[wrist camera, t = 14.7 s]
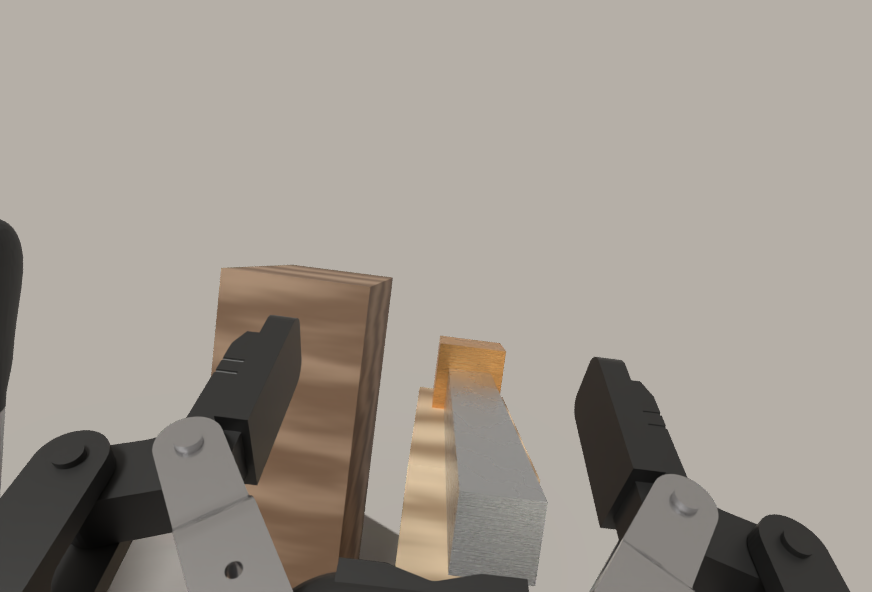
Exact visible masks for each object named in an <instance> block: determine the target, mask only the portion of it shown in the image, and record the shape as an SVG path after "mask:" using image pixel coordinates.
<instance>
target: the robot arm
mask: <svg viewBox="0 0 872 592" xmlns="http://www.w3.org/2000/svg"><path fill="white" fill-rule="evenodd" d="M22 275H23V254H22V248H21V243H20V240H19V238H18V235H17V234H16V232H15V231H14V229H13V228H12V227H11V226H10V225H9V224H8V223H6V222H5V221H2V220H0V488H1V472H2V471H1V470H2V455H3V435H4V419H5V406H6V391H7V386H8V381H9V376H10V372H11V366H12V359H13V349H14V337H15V329H16V321H17V314H18V307H19V300H20V293H21V285H22ZM301 364H302V357H301V336H300V321H299V319H298V318H292V317H285V316H277V315H269V317H268V318H267V320H266V321H265V323H264V325H263V327H262V329H261V331H260V332H251V331H247V332H245V333H244V334H243V335H241V336H240V337H239V338H237V339H236V340H235V341H233V342H232V343H231V345H230V346H229V348H228V350H227V351H226V353H225V355H224V356H223V360H221V361H220V363H219V365H218V366H217V368H216V372H214V373H213V375H212V376H211V378H210V380H209V381H208V383H207V384H206V386H205V388H204V390H203V391H202V393H201V394H200V396H199V398H198V399H197V401H196V403H195V404H194V406H193V408H192V409H191V411H190V413H189V414H188V416H187V417H186V418H184V419H181V420H178V421H176V422H174V423H172V424H170V425H169V426H167V427H166V428H165V429H164V430H162V431H161V432H160V434H159V435H158V436H157V437H156V438H153V439H149V440H143V441H136V442H130V443H122V444H116V445H110V443H109V441H108V439H107V438H106V437H105V436H104V435H103V434H101V433H99V432H95V431H90V430H83V431H75V432H70V433H67V434H64V435H62V436H60V437H57V438H55V439H53V440H51V441H50V442H48V443H47V444H46V445H44V446H43V447H41V448H40V449H39V450H38V451H37V452H36V453H35V454H34V456H33V457H32V458H31V460H30V461H29V462H28V463H27V465H26V466H25V467H24V468H23V470H22V471H21V472H20V474H19V475H18V476H17V478H16V479H15V480H14V481H13V483H12V484H11V485H10V486H9V488H8V489H7V490H6V492H5V493H4V494H3V495H2V497H1V498H0V592H107V590H108V588H109V586H110V584H111V582H112V580H113V578H114V576H115V574H116V572H117V570H118V568H119V566H120V564H121V563H122V561H123V559H124V557H125V555H126V553H127V551H128V549H129V547H130V545H131V543H132V541H133V540H136V539H141V538H146V537H151V536H156V535H161V534H166V533H171V532H173V537H174V541H175V545H176V548H177V552H178V556H179V560H180V564H181V567H182V571H183V575H184V579H185V582H186V586H187V590H188V592H529V590H528V579H523V578H515V577H506V576H497V575H489V574H477V575H471V576H464V577H458V578H452V579H446V580H440V581H431V580H428V579H425V578H423V577H420V576H418V575H415V574H413V573H410V572H408V571H405V570H403V569H400V568H398V567H395V566H393V565H390V564H388V563H385V562H376V561H367V560H359V559H350V558H341V557H339V561H338V565H337V570H336V572H331V573H326V574H323V575H319V576H316V577H314V578H311V579H309V580H307V581H304V582H303V583H301V584H299V585H297V586H296V587H294V588H292V587H291V585H290V583H289V580H288V578H287V575H286V573H285V571H284V568H283V566H282V563H281V561H280V558H279V556H278V554H277V551H276V549H275V546H274V544H273V541H272V539H271V537H270V534H269V532H268V529H267V527H266V524H265V522H264V520H263V517H262V515H261V512H260V510H259V508H258V505H257V503H256V501H255V499H254V497H253V496H252V495H249V494H248V491H247V489H246V487H245V484H249V485H258V482H259V480H260V477H261V475H262V472H263V470H264V467H265V465H266V462H267V460H268V457H269V455H270V452H271V449H272V447H273V444H274V442H275V439H276V437H277V434H278V432H279V429H280V427H281V424H282V422H283V419H284V417H285V414H286V411H287V409H288V406H289V404H290V401H291V399H292V396H293V394H294V391H295V389H296V386H297V383H298V380H299V377H300V372H301ZM574 410H575V420H576V424H577V429H578V433H579V437H580V442H581V446H582V451H583V455H584V459H585V463H586V468H587V472H588V477H589V481H590V485H591V490H592V494H593V499H594V503H595V507H596V511H597V516H598V520H599V525H600V527H601V528H608V529H616V530H617V534H618V538H619V541H618V542H617V544H616V546H615V547H614V549H613V551H612V553H611V554H610V556H609V558H608V560H607V562H606V563H605V565H604V567H603V569H602V571H601V572H600V574H599V576H598V577H597V579H596V581H595V583H594V585H593V586H592V588H591V590H590V592H850V591H849V589H848V587H847V585H846V583H845V582H844V580H843V578H842V576H841V574H840V572H839V571H838V569H837V567H836V565H835V563H834V561H833V560H832V558H831V556H830V554H829V552H828V550H827V549H826V547H825V546H824V544H823V543H822V542H821V541H820V539H819V538H818V537H817V536H816V535H815V534H814V533H813V532H812V531H810V530H809V529H808V528H806V527H805V526H804V525H802V524H801V523H799V522H797V521H795V520H793V519H791V518H788V517H786V516H782V515H775V514H774V515H768V516H765V517H764V518H762V520H761V521H760V522H759V523H758V524H755V523H752V522H750V521H747V520H745V519H742V518H740V517H737V516H735V515H732V514H730V513H727V512H725V511H723V510H721V509H719V508H717V507H716V504H715V502H714V501H713V499H712V498H711V496H710V495H709V494H708V492H706V490H704V489H703V488H702V487H701V486H700V485H699V484H697V483H696V482H694V481H692V480H691V479H689V478H687V476H686V473H685V471H684V468H683V466H682V464H681V462H680V459H679V457H678V454H677V452H676V449H675V447H674V444H673V442H672V440H671V437H670V435H669V432H668V430H667V429H665V423H664V420H663V418H662V416H660V411H659V408H658V406H657V404H656V401H655V399H654V397H653V396H652V394H651V393H650V392H649V391H648V390H647V389H646V388H645V386H644V385H643V384H642V383H641V382H640V381H632V380H631V379H630V376H629V373H628V371H627V368H626V366H625V363H624V362H623V361H622V360H615V359H608V358H600V357H594V358H592V360H591V361H590V364H589V366H588V368H587V371H586V374H585V376H584V378H583V381H582V384H581V386H580V389H579V391H578V393H577V396H576V400H575V409H574Z"/></svg>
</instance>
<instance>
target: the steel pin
mask: <svg viewBox="0 0 872 592" xmlns="http://www.w3.org/2000/svg"><path fill="white" fill-rule="evenodd" d="M505 354H506V351H505V350H504V348H503V347H502V346H501V344H500V343H493V342H485V341H478V340H470V339H461V338H454V337H446V336H440V342H439V350H438V357H437V365H436V373H435V381H434V388H433V398H432V408H440V409H444V435H445V474H446V512H447V550H448V575H452V576H460V577H464V576H471V575H477V574H489V575H497V576H506V577H515V578H523V579H528V585H531V586H535V582H536V576H537V570H538V563H539V556H540V550H541V542H542V536H543V529H544V522H545V515H546V509H547V503H548V502H547V500H546V497H545V495H544V493H543V491H542V488H541V486H540V484H539V482H538V479H537V477H536V475H535V473H534V470H533V468H532V466H531V463H530V461H529V459H528V457H527V454H526V452H525V450H524V448H523V445H522V443H521V441H520V439H519V436H518V434H517V432H516V430H515V427H514V425H513V423H512V420H511V418H510V416H509V414H508V411H507V409H506V407H505V405H504V402H503V400H502V398H501V396H500V390H501V383H502V376H503V369H504V362H505Z"/></svg>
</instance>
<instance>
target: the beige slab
mask: <svg viewBox="0 0 872 592" xmlns="http://www.w3.org/2000/svg"><path fill="white" fill-rule="evenodd" d="M432 398H433V389H432V388H424V387H420V390H419V396H418V404H417V410H416V417H415V423H414V430H413V436H412V443H411V449H410V456H409V463H408V470H407V478H406V486H405V494H404V502H403V510H402V517H401V525H400V526H401V527H400V533H399V541H398V549H397V557H396V565H395V567H398V568H400V569H403V570H405V571H408V572H410V573H413V574H415V575H418V576H420V577H423V578H425V579H428V580H431V581H440V580H446V579H452V578H458V577H460V576H452V575H448V550H447V512H446V474H445V435H444V409H440V408H432ZM501 398H502V397H501ZM502 400H503V398H502ZM503 402H504V400H503ZM504 405H505V407H506V409H507V406H506V404H505V402H504ZM507 411H508V409H507ZM508 414H509V416H510V418H511V420H512V417H511V415H510V413H509V411H508ZM512 423H513V425H514V427H515V430H516V432H517V434H518V436H519V439H520V441H521V443H522V445H523V448H524V450H525V452H526V454H527V457H528V459H529V461H530V463H531V466H532V468H533V470H534V473H535V475H536V477H537V479H538V482H539V484H540V479H539V477H538V475H537V473H536V471H535V468H534V466H533V464H532V462H531V459H530V457H529V455H528V453H527V451H526V448H525V446H524V444H523V442H522V439H521V437H520V435H519V433H518V431H517V429H516V426H515V424H514V422H513V420H512Z"/></svg>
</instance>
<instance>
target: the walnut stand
mask: <svg viewBox="0 0 872 592" xmlns="http://www.w3.org/2000/svg"><path fill="white" fill-rule="evenodd" d="M391 288H392V278H391V277H383V276H375V275H368V274H360V273H352V272H343V271H336V270H328V269H320V268H312V267H305V266H297V265H278V266H259V267H258V266H257V267H256V266H255V267H234V268H221V277H220V287H219V298H218V309H217V319H216V330H215V341H214V351H213V362H212V372H211V376H212V375H213V373H214V372H216V368H217V366H218V365H219V363H220V361H221V360H223V356H224V355H225V353H226V351H227V350H228V348H229V346H230V345H231V343H232V342H233V341H235V340H236V339H237V338H239V337H240V336H241V335H243V334H244V333H245V332H247V331H251V332H260V331H261V329H262V327H263V325H264V323H265V321H266V320H267V318H268V317H269V315H277V316H285V317H292V318H298V319H299V321H300V336H301V357H302V364H301V372H300V377H299V380H298V383H297V386H296V389H295V391H294V394H293V396H292V399H291V401H290V404H289V406H288V409H287V411H286V414H285V417H284V419H283V422H282V424H281V427H280V429H279V432H278V434H277V437H276V439H275V442H274V444H273V447H272V449H271V452H270V455H269V457H268V460H267V462H266V465H265V467H264V470H263V472H262V475H261V477H260V480H259V482H258V485H249V484H245V487H246V489H247V491H248V494H249V495H252V496H253V497H254V499H255V501H256V503H257V505H258V508H259V510H260V512H261V515H262V517H263V520H264V522H265V524H266V527H267V529H268V532H269V534H270V537H271V539H272V541H273V544H274V546H275V549H276V551H277V554H278V556H279V558H280V561H281V563H282V566H283V568H284V571H285V573H286V575H287V578H288V580H289V583H290V585H291V587H292V588H294V587H296V586H297V585H299V584H301V583H303V582H304V581H307V580H309V579H311V578H314V577H316V576H319V575H323V574H326V573H331V572H336V570H337V565H338V561H339V557H341V558H350V559H359V553H360V545H361V537H362V528H363V520H364V512H365V503H366V494H367V487H368V478H369V470H370V462H371V454H372V445H373V437H374V429H375V421H376V411H377V404H378V395H379V387H380V379H381V371H382V362H383V354H384V346H385V338H386V329H387V321H388V313H389V304H390V296H391Z"/></svg>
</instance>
